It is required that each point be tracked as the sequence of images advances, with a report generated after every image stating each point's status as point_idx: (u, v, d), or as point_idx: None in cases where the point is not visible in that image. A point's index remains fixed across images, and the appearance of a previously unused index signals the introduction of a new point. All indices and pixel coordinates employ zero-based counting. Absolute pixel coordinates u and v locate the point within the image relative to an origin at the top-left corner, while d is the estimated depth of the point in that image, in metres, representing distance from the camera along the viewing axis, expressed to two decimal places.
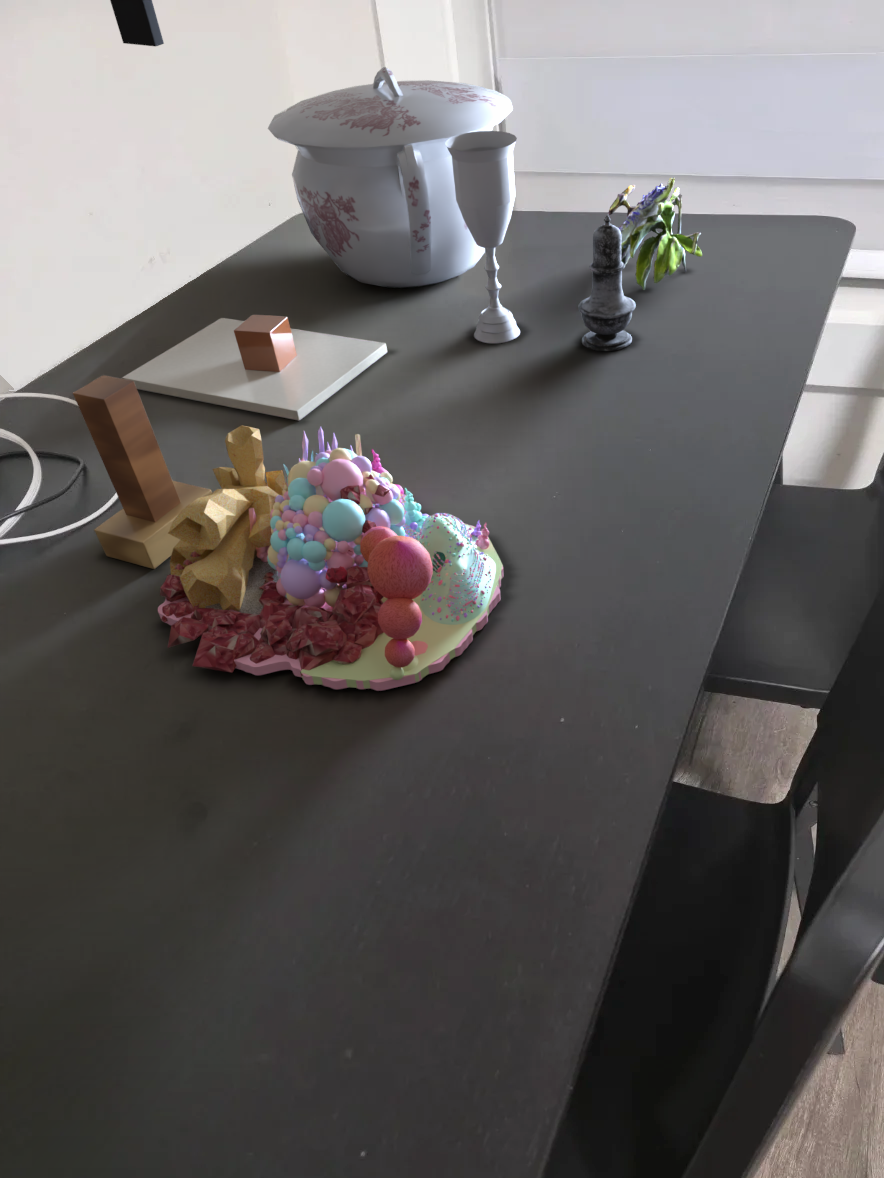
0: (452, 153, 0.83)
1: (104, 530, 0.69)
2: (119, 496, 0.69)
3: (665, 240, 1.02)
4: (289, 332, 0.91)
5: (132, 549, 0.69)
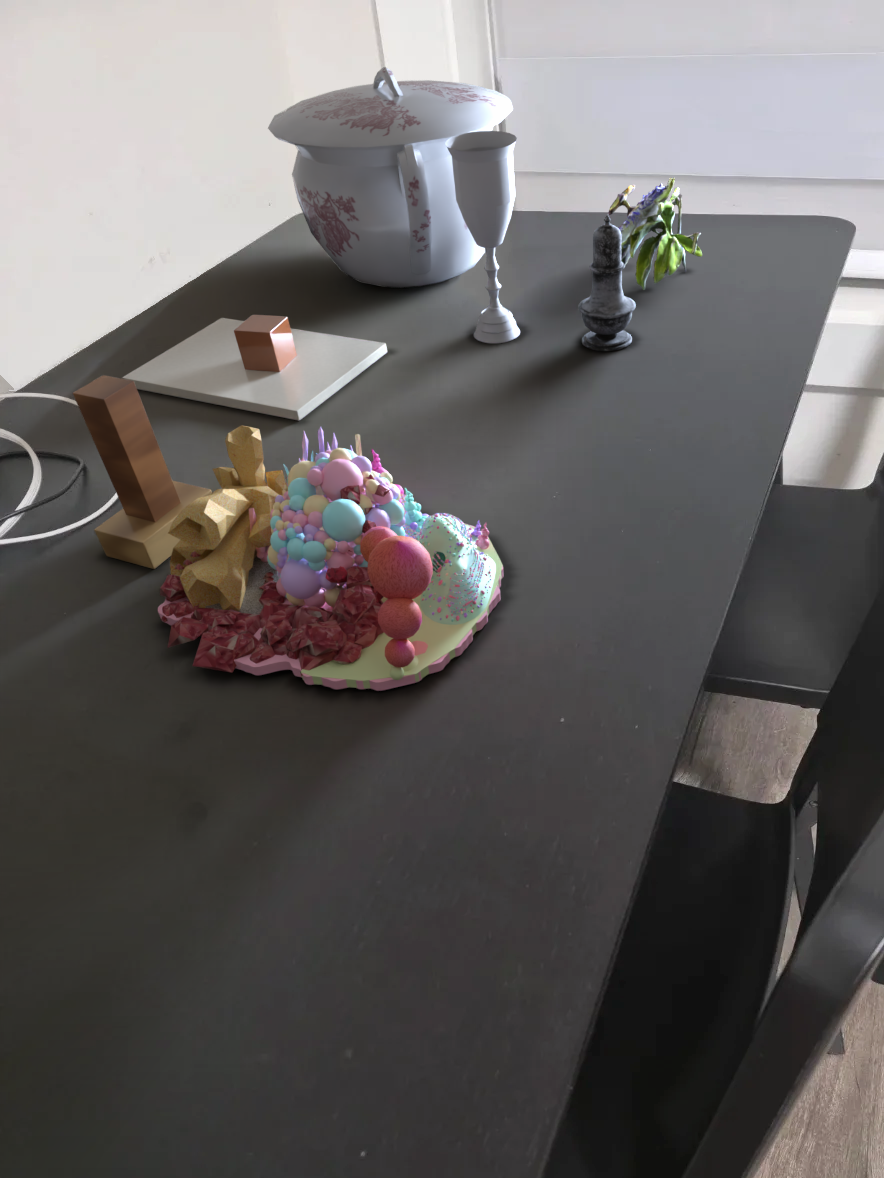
0: (452, 153, 0.83)
1: (104, 530, 0.69)
2: (119, 496, 0.69)
3: (665, 239, 1.02)
4: (289, 332, 0.91)
5: (132, 549, 0.69)
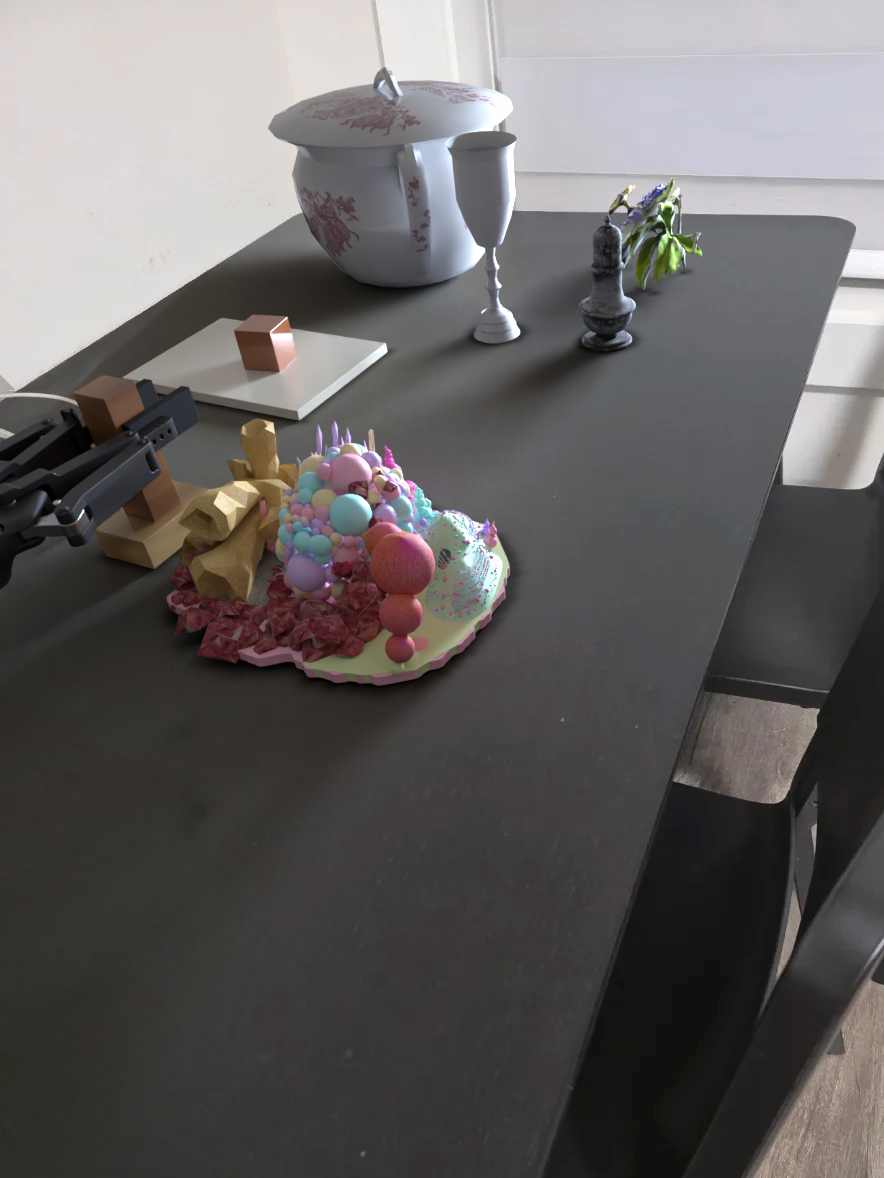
0: (452, 153, 0.83)
1: (104, 530, 0.69)
2: None
3: (665, 240, 1.02)
4: (289, 332, 0.91)
5: (132, 549, 0.69)
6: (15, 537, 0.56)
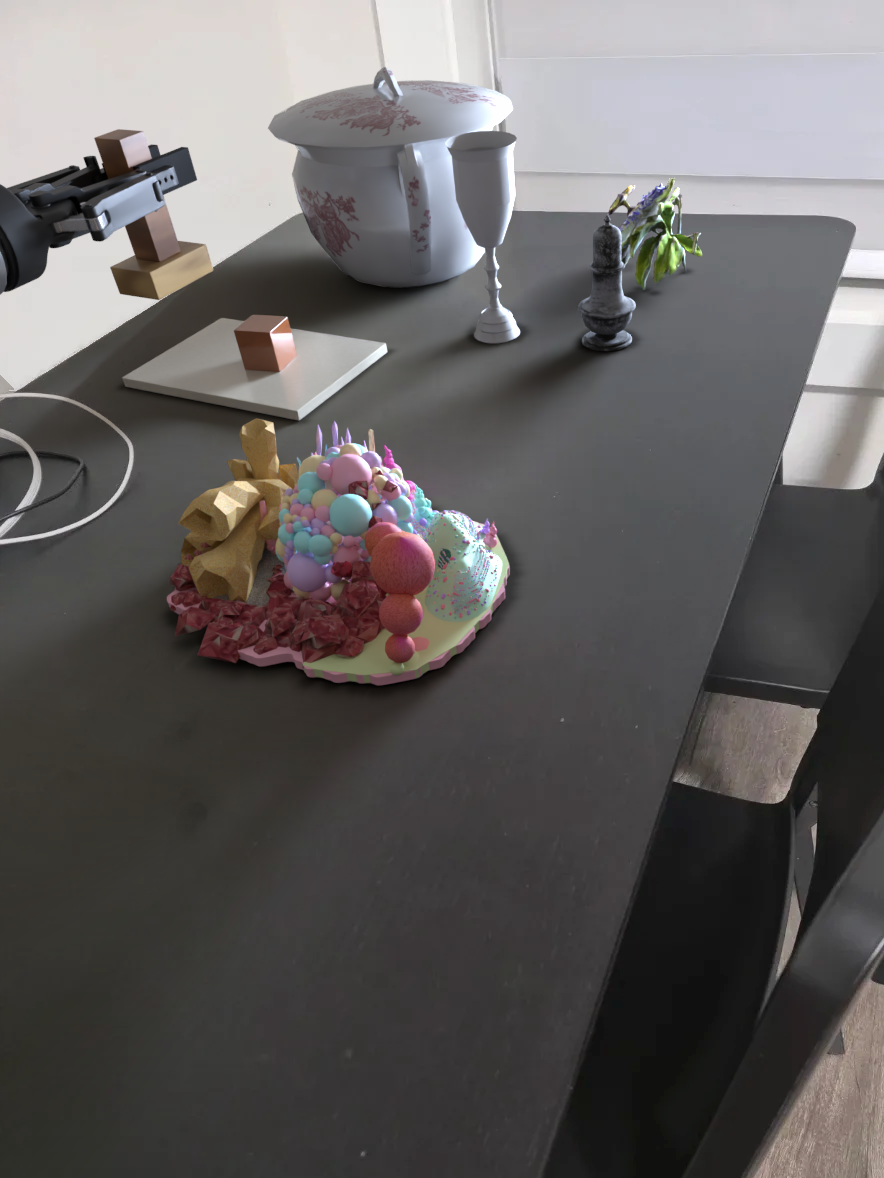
0: (452, 153, 0.83)
1: (118, 267, 0.84)
2: (130, 239, 0.85)
3: (665, 239, 1.02)
4: (289, 332, 0.91)
5: (141, 281, 0.84)
6: (50, 227, 0.72)
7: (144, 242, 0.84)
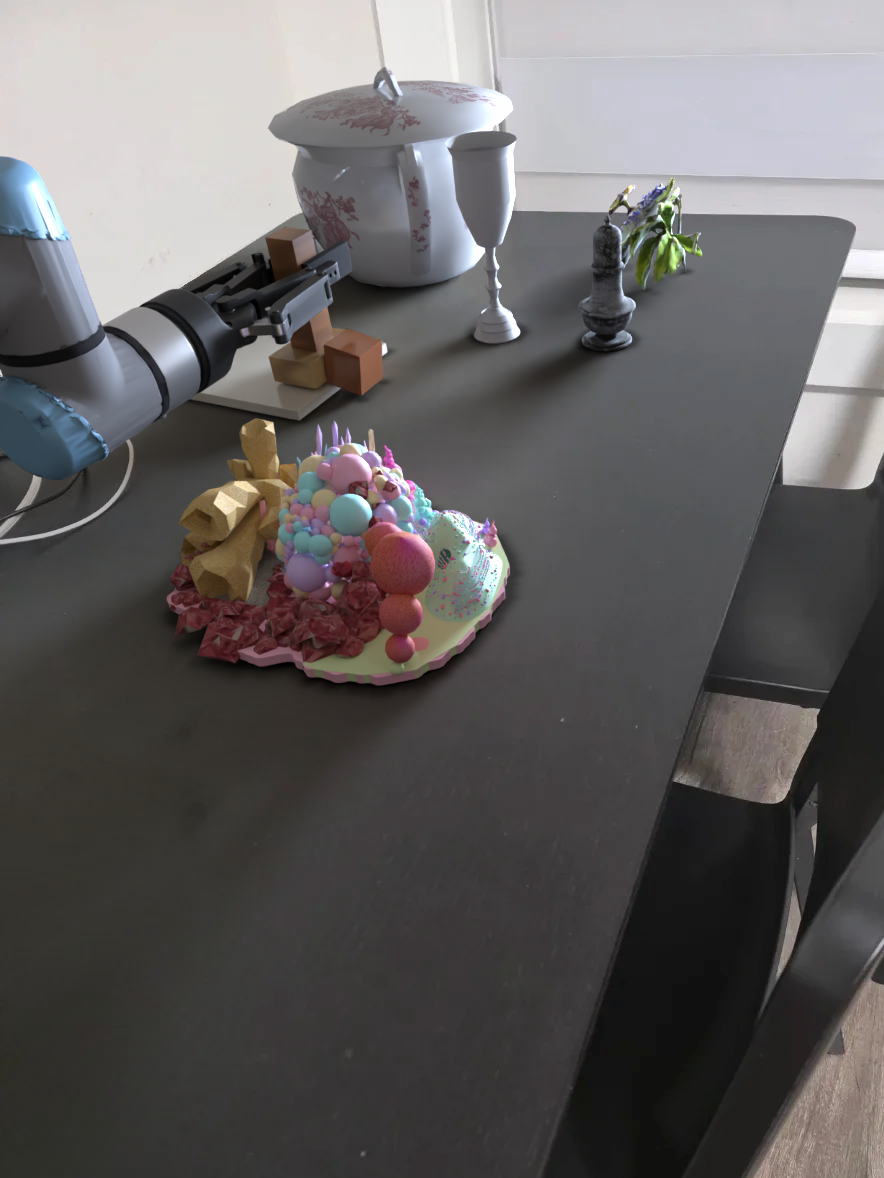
0: (452, 153, 0.83)
1: (277, 357, 0.86)
2: None
3: (665, 240, 1.02)
4: (380, 356, 0.88)
5: (300, 371, 0.86)
6: (238, 333, 0.74)
7: (303, 333, 0.86)
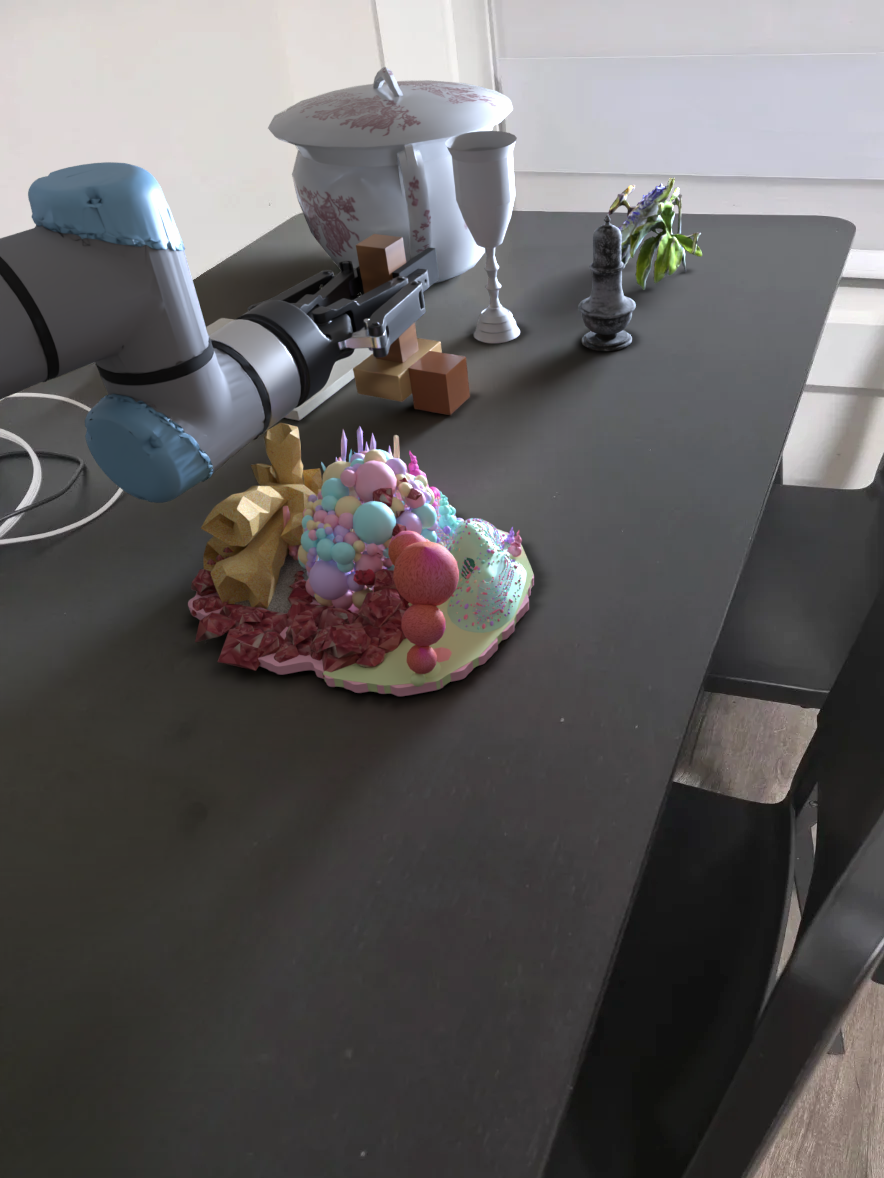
0: (452, 153, 0.83)
1: (362, 369, 0.83)
2: None
3: (665, 239, 1.02)
4: (465, 373, 0.85)
5: (386, 383, 0.83)
6: (337, 346, 0.71)
7: None
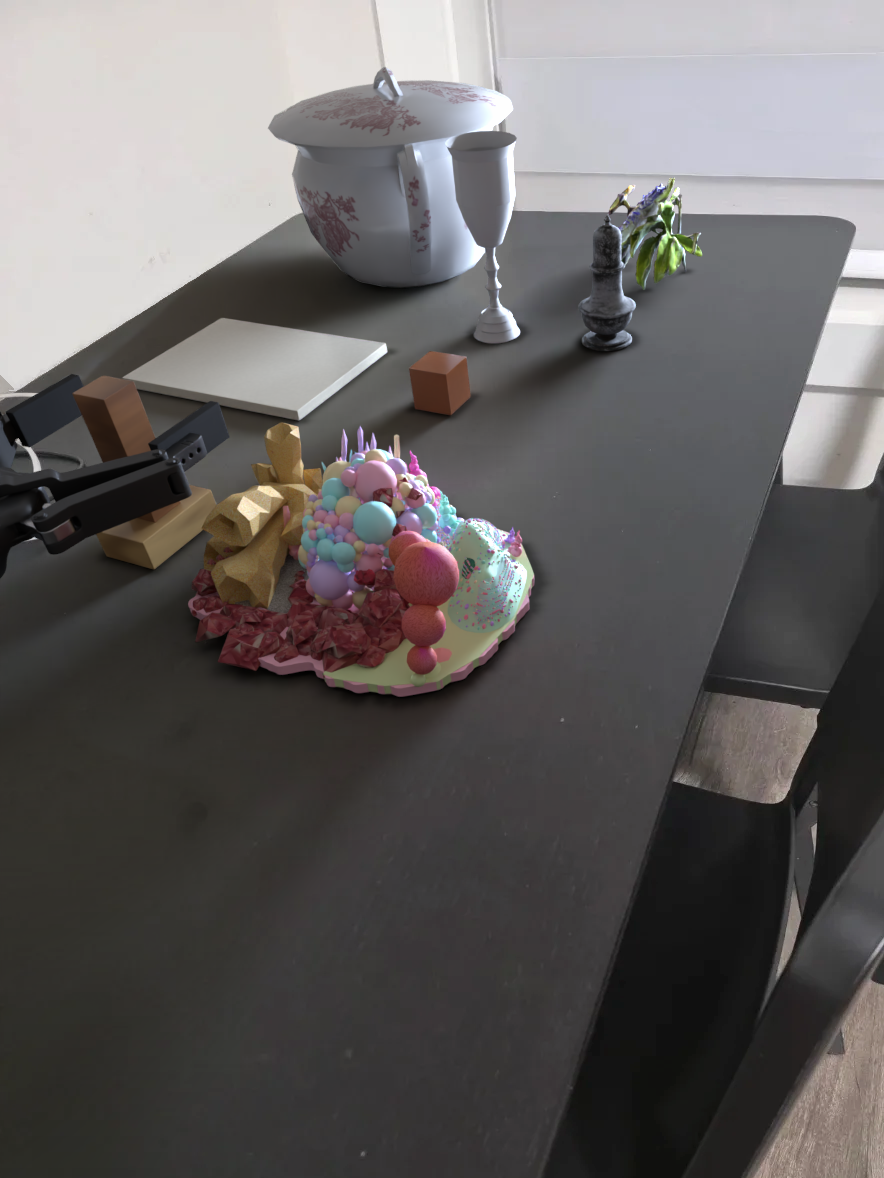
0: (452, 153, 0.83)
1: (104, 531, 0.69)
2: None
3: (665, 239, 1.02)
4: (466, 373, 0.85)
5: (132, 549, 0.68)
6: (10, 529, 0.56)
7: None
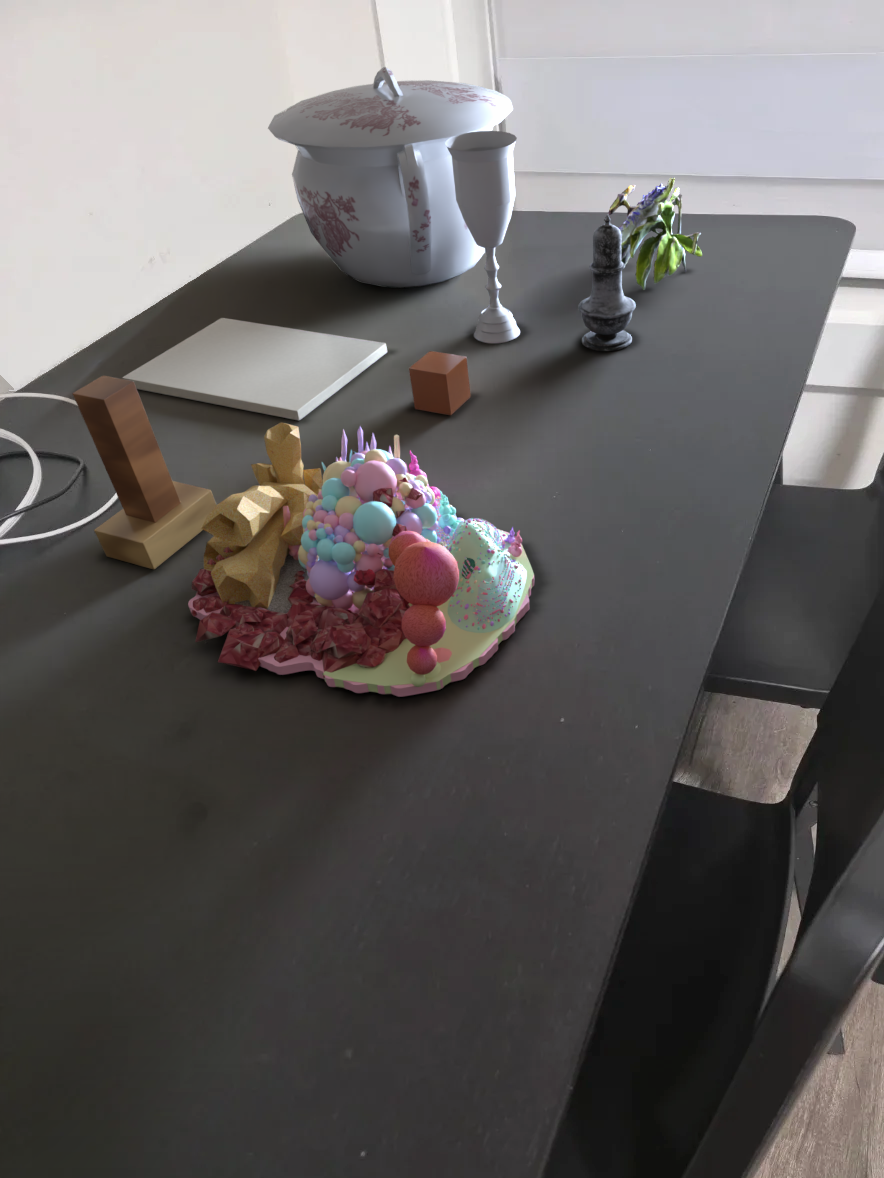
0: (452, 153, 0.83)
1: (104, 531, 0.69)
2: (119, 496, 0.69)
3: (665, 240, 1.02)
4: (466, 373, 0.85)
5: (132, 549, 0.68)
6: None
7: (135, 501, 0.68)
